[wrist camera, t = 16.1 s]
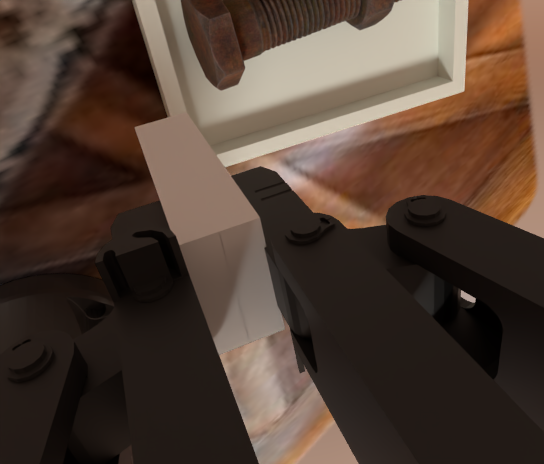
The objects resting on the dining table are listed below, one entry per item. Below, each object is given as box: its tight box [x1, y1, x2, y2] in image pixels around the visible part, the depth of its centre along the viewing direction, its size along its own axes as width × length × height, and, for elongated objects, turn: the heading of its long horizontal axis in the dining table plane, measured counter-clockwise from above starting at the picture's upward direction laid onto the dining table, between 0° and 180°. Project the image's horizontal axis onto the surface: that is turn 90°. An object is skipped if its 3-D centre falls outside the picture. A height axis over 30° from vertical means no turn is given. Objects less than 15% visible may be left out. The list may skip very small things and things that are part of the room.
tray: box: [132, 0, 468, 167], centre depth 30 cm, size 16×21×3 cm
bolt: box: [181, 0, 401, 91], centre depth 29 cm, size 6×5×15 cm
